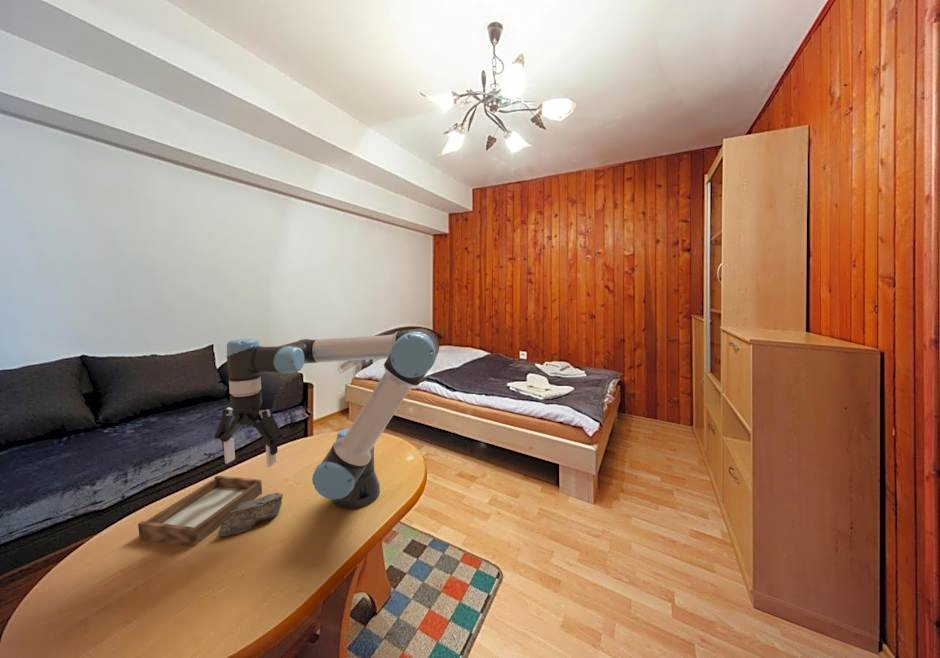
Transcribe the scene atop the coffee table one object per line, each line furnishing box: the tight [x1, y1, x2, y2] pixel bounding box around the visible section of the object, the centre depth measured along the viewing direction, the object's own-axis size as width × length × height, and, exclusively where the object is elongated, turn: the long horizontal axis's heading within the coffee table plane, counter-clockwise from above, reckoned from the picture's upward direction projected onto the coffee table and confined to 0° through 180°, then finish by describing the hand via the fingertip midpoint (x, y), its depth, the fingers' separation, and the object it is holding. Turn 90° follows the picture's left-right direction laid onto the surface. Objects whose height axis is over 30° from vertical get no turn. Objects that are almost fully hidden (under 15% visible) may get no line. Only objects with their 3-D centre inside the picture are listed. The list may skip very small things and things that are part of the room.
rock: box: [218, 492, 283, 537], centre depth 96 cm, size 17×7×10 cm
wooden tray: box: [137, 475, 263, 548], centre depth 99 cm, size 17×24×5 cm
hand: (250, 462), depth 95 cm, fingers open, 13 cm apart
